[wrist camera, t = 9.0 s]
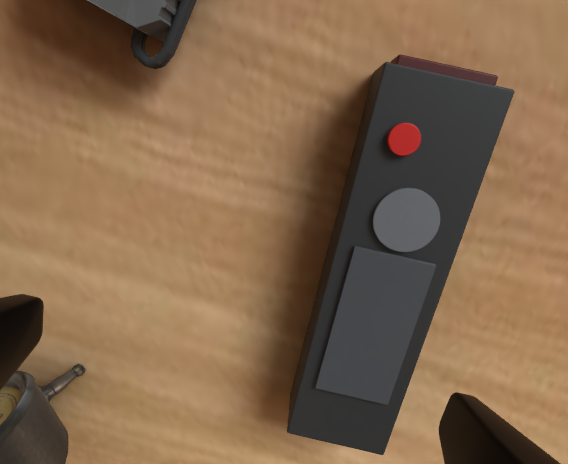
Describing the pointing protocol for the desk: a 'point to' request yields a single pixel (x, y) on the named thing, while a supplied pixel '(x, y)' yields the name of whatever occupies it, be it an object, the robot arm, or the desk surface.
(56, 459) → the alarm clock
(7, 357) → the robot arm
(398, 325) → the remote
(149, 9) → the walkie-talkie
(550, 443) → the desk surface
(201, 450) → the desk surface
